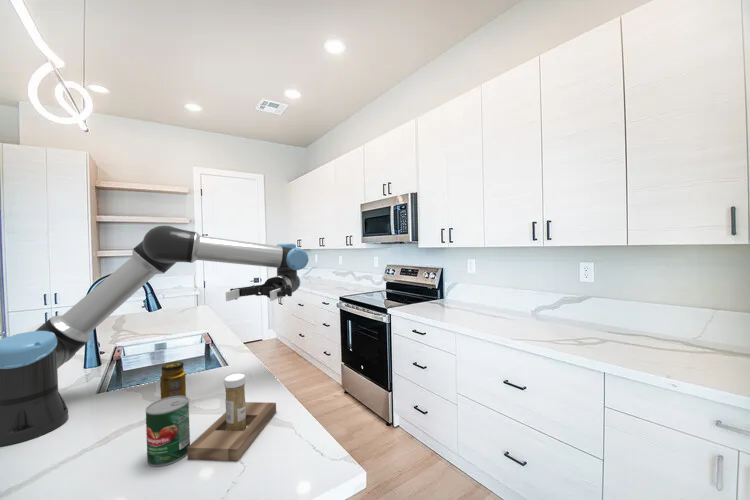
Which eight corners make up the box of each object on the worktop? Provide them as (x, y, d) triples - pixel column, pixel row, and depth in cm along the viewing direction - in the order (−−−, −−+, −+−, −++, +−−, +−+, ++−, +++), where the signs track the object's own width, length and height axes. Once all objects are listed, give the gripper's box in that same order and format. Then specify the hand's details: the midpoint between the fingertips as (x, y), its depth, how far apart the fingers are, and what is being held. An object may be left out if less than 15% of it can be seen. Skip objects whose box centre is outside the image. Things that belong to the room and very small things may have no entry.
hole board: (187, 459, 68) (187, 447, 68) (237, 411, 88) (236, 401, 88) (237, 461, 67) (237, 449, 67) (276, 411, 87) (275, 402, 87)
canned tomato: (142, 471, 65) (140, 416, 65) (151, 449, 72) (150, 400, 72) (188, 460, 68) (186, 407, 68) (192, 440, 76) (190, 392, 75)
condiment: (190, 399, 96) (188, 358, 96) (184, 412, 89) (182, 368, 88) (161, 403, 94) (160, 362, 94) (152, 418, 86) (151, 373, 86)
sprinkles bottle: (248, 433, 77) (246, 377, 77) (227, 440, 75) (225, 381, 75) (244, 425, 81) (243, 371, 81) (224, 431, 79) (222, 375, 79)
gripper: (311, 297, 116) (290, 308, 95) (244, 297, 118) (209, 309, 97) (311, 275, 116) (289, 282, 94) (243, 277, 118) (208, 284, 97)
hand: (248, 296), depth 96 cm, fingers open, 13 cm apart
